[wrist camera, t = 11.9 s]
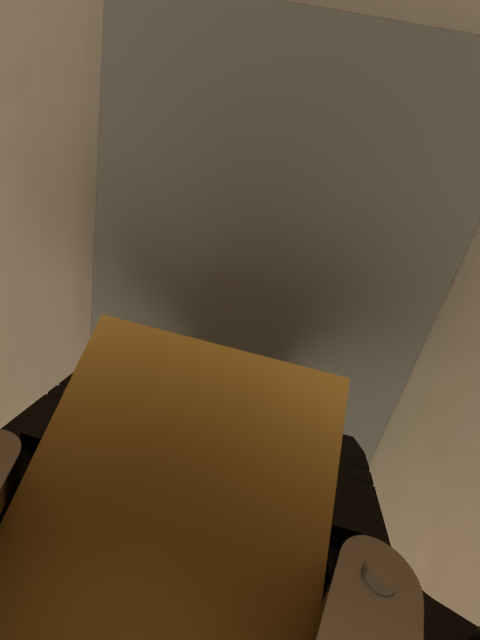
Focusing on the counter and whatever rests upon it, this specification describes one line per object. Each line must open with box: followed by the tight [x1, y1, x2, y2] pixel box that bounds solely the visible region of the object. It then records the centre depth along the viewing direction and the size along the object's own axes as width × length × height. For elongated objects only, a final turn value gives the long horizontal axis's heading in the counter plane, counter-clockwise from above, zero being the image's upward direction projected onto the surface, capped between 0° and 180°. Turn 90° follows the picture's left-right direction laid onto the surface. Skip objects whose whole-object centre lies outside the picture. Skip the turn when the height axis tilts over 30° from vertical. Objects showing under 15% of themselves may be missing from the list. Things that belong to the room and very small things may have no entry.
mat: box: [91, 0, 480, 465], centre depth 14 cm, size 20×14×1 cm
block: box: [0, 314, 350, 640], centre depth 9 cm, size 5×5×8 cm
